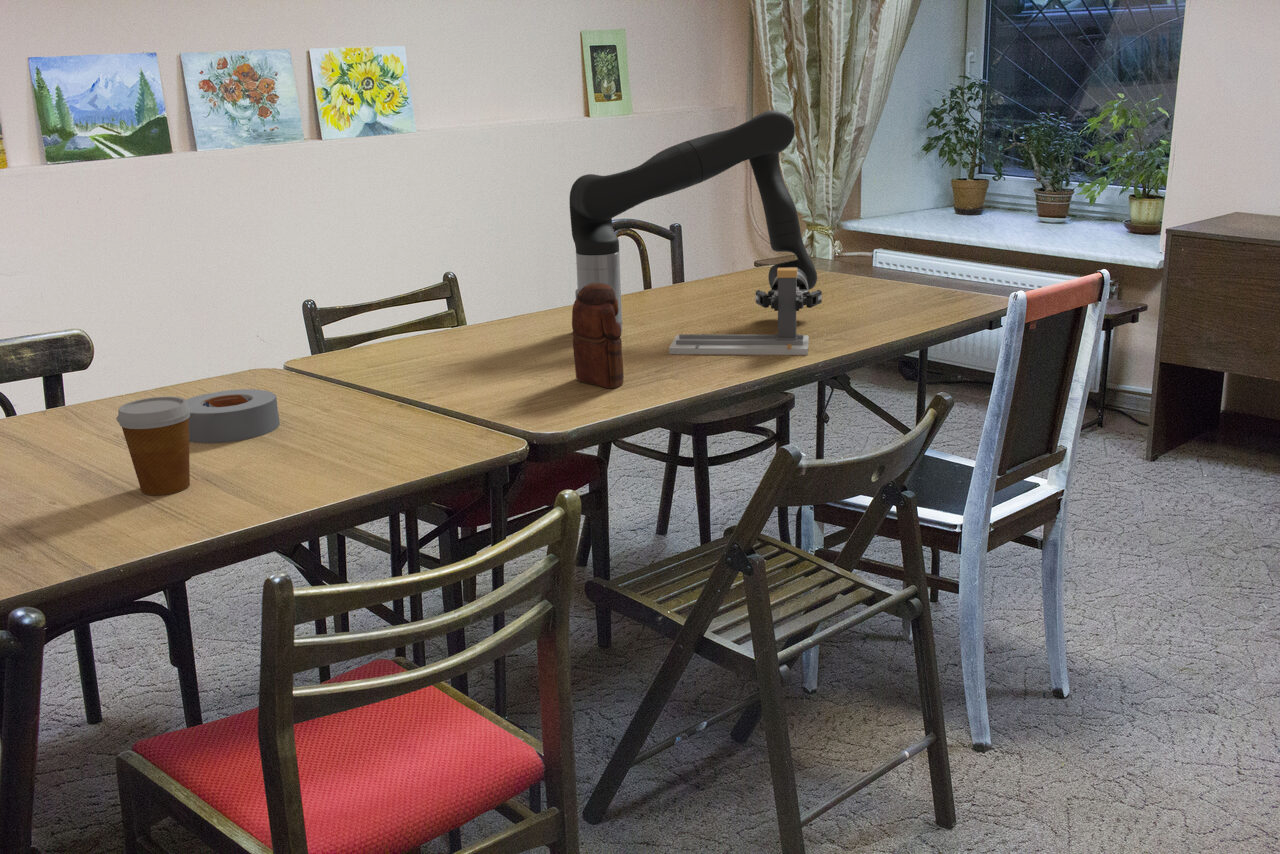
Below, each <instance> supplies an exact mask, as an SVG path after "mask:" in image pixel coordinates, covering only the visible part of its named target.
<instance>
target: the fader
mask: <svg viewBox="0 0 1280 854" xmlns="http://www.w3.org/2000/svg"><path fill="white" fill-rule="evenodd" d="M777 278H778V311H777V334H776V335H777V338H776V340H797V335H798V334H797V311H796V289H797V268H778V269H777Z"/></svg>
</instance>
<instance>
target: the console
mask: <svg viewBox="0 0 1280 854" xmlns="http://www.w3.org/2000/svg"><path fill="white" fill-rule="evenodd" d="M809 336H810V335H805V334H797V340H776V338H777V334H705V333H701V334H691V333H690V334H681V333H680V334H676V336H675V337H674V339H673V341H672V342H671V344H670V345H669V347H668V354H669V355H745V356H746V355H754V356H755V355H758V356H759V355H765V356H766V355H768V356H769V355H772V356H773V355H774V356H776V355H779V356H780V355H781V356H785V355H786V356H793V355H794V356H797V355H798V356H799V355H800V356H807V355H808V353H809V341H810V340H809V339H810V337H809ZM808 356H809V355H808Z"/></svg>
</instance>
